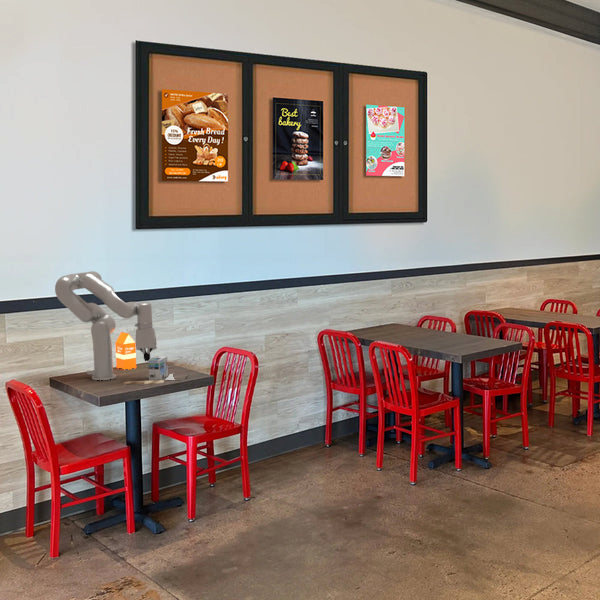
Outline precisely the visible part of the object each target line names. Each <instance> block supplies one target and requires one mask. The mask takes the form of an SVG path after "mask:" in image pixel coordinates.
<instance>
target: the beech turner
mask: <svg viewBox="0 0 600 600" xmlns="http://www.w3.org/2000/svg"><path fill="white" fill-rule="evenodd" d="M164 380H165V379H162V380H140V381H139V380H138V381H137V380H135V381H123V386H127V385H126V384H129V385H144V386H145V385H158V384H164V383H165V381H164Z"/></svg>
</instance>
